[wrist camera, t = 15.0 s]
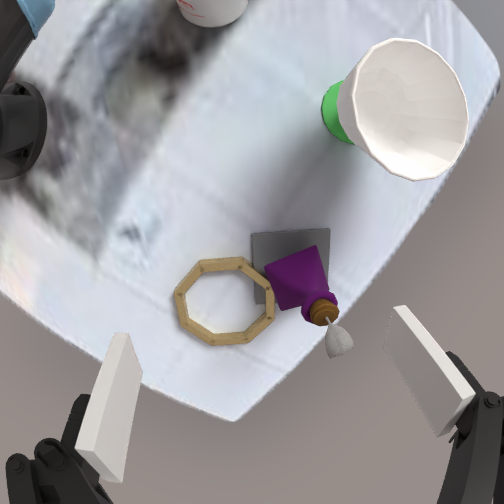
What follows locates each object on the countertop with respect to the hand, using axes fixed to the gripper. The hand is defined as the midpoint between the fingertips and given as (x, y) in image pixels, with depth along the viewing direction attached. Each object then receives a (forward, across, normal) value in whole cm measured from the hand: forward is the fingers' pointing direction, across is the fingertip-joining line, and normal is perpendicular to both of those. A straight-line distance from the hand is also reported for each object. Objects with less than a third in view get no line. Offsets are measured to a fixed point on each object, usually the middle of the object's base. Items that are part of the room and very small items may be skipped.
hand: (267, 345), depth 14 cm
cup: (+28, +16, +12) cm, 35 cm away
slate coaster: (+28, +7, -10) cm, 31 cm away
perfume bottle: (+27, +7, -10) cm, 30 cm away
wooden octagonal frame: (+28, -3, -16) cm, 32 cm away
